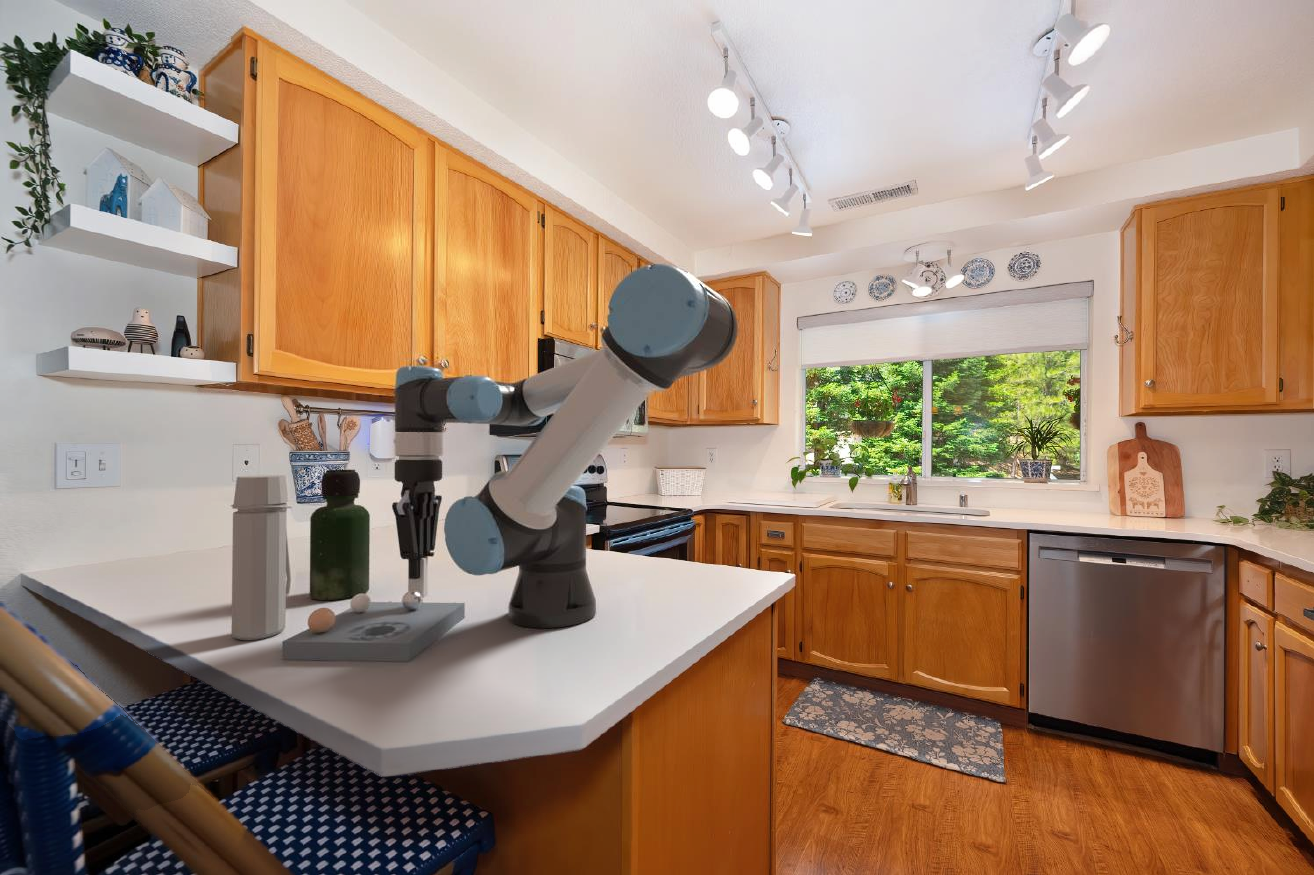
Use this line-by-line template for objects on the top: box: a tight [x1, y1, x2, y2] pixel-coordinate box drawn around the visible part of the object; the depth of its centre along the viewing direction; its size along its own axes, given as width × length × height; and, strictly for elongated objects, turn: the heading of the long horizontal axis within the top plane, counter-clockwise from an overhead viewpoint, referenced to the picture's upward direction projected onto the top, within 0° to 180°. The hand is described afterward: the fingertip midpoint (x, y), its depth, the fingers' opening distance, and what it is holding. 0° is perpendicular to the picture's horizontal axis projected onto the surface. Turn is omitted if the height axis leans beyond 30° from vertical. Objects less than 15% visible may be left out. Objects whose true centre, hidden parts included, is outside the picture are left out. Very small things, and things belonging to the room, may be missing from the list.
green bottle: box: [309, 469, 371, 601], centre depth 113 cm, size 10×10×25 cm
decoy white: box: [350, 593, 372, 613], centre depth 92 cm, size 3×3×3 cm
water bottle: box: [230, 474, 292, 641], centre depth 90 cm, size 9×8×25 cm
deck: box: [281, 601, 466, 663], centre depth 88 cm, size 18×20×2 cm
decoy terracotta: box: [307, 607, 336, 633], centre depth 82 cm, size 4×4×4 cm
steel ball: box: [401, 590, 424, 610], centre depth 93 cm, size 3×3×3 cm
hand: (417, 596), depth 96 cm, fingers closed
